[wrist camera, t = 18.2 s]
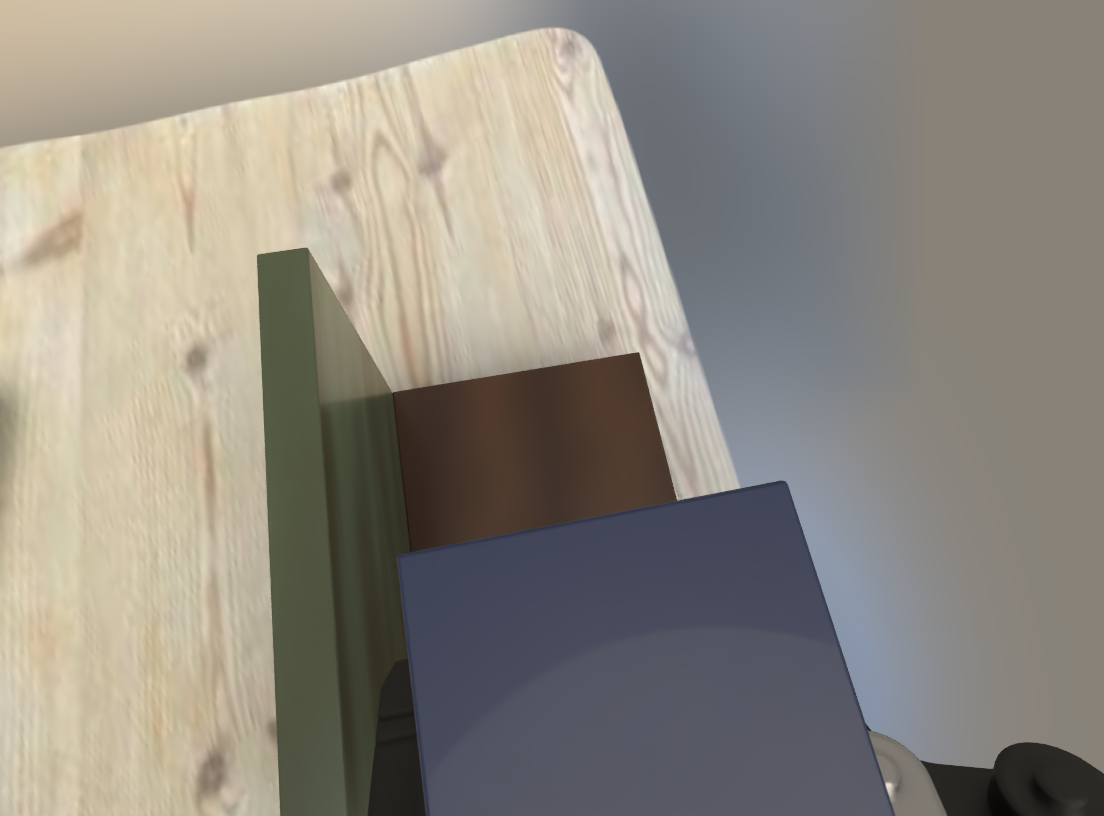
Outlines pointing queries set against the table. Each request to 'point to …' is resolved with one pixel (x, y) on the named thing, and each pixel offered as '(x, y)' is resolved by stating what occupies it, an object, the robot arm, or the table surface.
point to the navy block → (636, 669)
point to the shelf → (406, 503)
